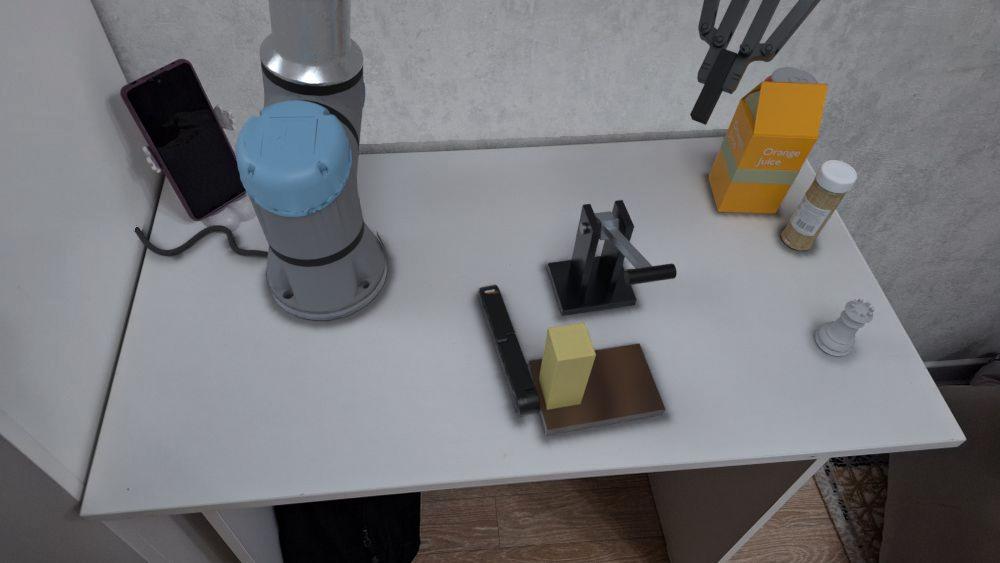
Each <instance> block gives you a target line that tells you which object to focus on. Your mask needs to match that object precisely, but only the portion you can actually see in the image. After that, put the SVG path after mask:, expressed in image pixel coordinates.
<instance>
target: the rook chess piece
mask: <svg viewBox="0 0 1000 563" xmlns="http://www.w3.org/2000/svg"><path fill="white" fill-rule="evenodd" d="M871 305H872V303H871V302H870V301H869V300H867V301H866V302H864V298H860V297H859V298H858V299H857V298H855V299H853V300H848V301H847V302H846V303H845V305H844V309H843V310H842V311H841V313H840V316H839V317H838V318H837V319H836V320H832V321H830V322H825V323H824V324H823V325H821V326H820V327H819V328H818V329H817V330H816V332H815V335H814V338H815V342H816V344H817V345H818V348H819V349H820V350H822V351H823V353H826V354H828V355H829V356H835V357H843V356H844V357H845V356H846V355H848V354H849V353H850V352H851V351H852V349H854V346H855V343H856V334H857V333H858V330H859V329H862V328H863V327H865V324H867V323H870V322H872V321H873V319H874V312H875V307H874V306H871Z"/></svg>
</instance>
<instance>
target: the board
mask: <svg viewBox="0 0 1000 563" xmlns="http://www.w3.org/2000/svg"><path fill="white" fill-rule="evenodd" d="M594 351H595V354H596V356H595V360H594V363H593V366H592V369H591V372H590V375H589V379H588V382H587V385H586V388H585V391H584V394H583V398H582V401H581V404H578V405H572V406H566V407H560V408H555V409H549V410H547V409H546V405H545V401H544V397H543V394H542V390H541V386H540V382H539V375H540V369H541V364H542V358H537V359H531V360H529V361H528V363H527V367H528V369H529V372H530V375H531V378H532V380H533V383H534V386H535V389H536V391H537V394H538V398H539V402H540V411H539V414H540V419H541V423H542V427H543V430H544V434H545V436H550V435H551V436H552V435H557V434H563V433H569V432H573V431H580V430H585V429H591V428H596V427H602V426H607V425H612V424H620V423H624V422H630V421H636V420H642V419H648V418H652V417H658V416H663V414H664V413H665V411H666V407H665V405H664V402H663V399H662V396H661V395H660V392H659V389H658V386H657V384H656V382H655V379H654V376H653V374H652V372H651V369H650V366H649V364H648V360H647V359H646V356H645V354H644V351H643V348H642V346H641V344H640V343H634V344H633V343H632V344H627V345H621V346H620V345H619V346H614V347H608V348H601V349H594Z"/></svg>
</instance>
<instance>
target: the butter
mask: <svg viewBox="0 0 1000 563" xmlns="http://www.w3.org/2000/svg"><path fill="white" fill-rule="evenodd" d="M543 347H544V348H543V353H542V354H543V355H542V358H541V359H542V364H541V369H540V375H539V382H540V386H541V390H542V394H543V397H544V401H545V405H546V409H547V410H549V409H555V408H560V407H566V406H572V405H578V404H581V401H582V398H583V394H584V391H585V388H586V385H587V382H588V379H589V375H590V372H591V369H592V366H593V363H594V360H595V356H596V354H595V351H594V350H595V348H594V344H593V341H592V339H591V335H590V333H589V330H588V327H587V324H586V322H579V323H571V324H564V325H558V326H551V327H548V328H547V331H546V337H545V343H544V346H543Z"/></svg>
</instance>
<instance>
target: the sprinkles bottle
mask: <svg viewBox="0 0 1000 563" xmlns="http://www.w3.org/2000/svg"><path fill="white" fill-rule="evenodd" d="M857 180H858V172H857V171H856V170H855V168H854V167H853V166H852V165H850V164H848V163H847V162H845V161H843V160H842V161H841V160H837V159H830V160H825V161H824V162H822V164H821V165H820V167H819V168H818V170H817V171H816V173H815V175H814V180H813V181H812V183H811V184H810V186H809V188H808V189H807V190H806V192H805V194H804V195H803V197H802V199H801V200H800V202H799V203H798V205H797V207H796V209H795V210H794V211H793V214H792V215H791V217H790V220H789V221H788V223H787V225H786V226H785V228H783V229H782V231H781V233H780V236H781V240H782V241H783V242H784V244H785V245H786V246H787V247H789V248H790V249H793V250H796V251H801V252H802V251H808V250H810V249H811V248H812V247H813V246H814V244H815V241H816V240H817V238H818V237H819V235H820V234H821V233H822V232H823V231H824V228H825V227H826V226H827V224H828V222H829V221H830V220H831V219H832V216H833V214H834V212H836V209H837V208H838V206H839V205H840V203H841V202H842V200H843V199H844V198H845V196H846V194H847V193H849V191H850V190H852V188H853V187H854V185H855V183H856V181H857Z"/></svg>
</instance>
